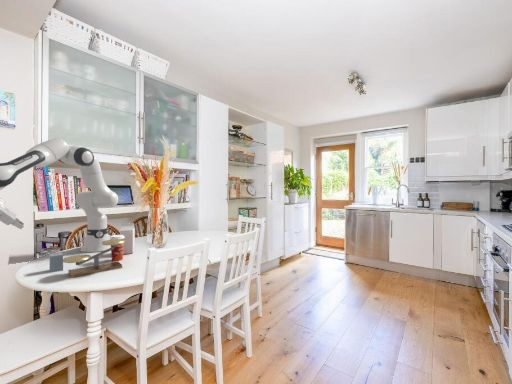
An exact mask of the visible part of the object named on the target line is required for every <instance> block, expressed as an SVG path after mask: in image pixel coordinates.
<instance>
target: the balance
mask: <svg viewBox="0 0 512 384" xmlns="http://www.w3.org/2000/svg"><path fill="white" fill-rule="evenodd" d="M125 242H126V240H124V239H112V240H106V241H103V242H102V245H113V247H111V248H109V249H107V250H104V251H99V253H96V254H95V255H90V254H76V255H71V256H67V257H63V263H67V264H73V263H74V264H75V266H77V267H78V266H80V265H82V264H85V263H87V262H90V261H91V260H93V265H89V266H84V267H79V268H73V269H68V275H69V276H70V278H71V279H72V278H76V277H83V276H87V275H93V274H96V273H97V274H98V273H102V272H103V273H104V272H107V271H112V270H116V269H117V270H118V269H122V268H123V264H122V263H121V262H120V261H111V262H106V263H100V262H99V261H100V260H99V258H100V256H102V255H104V254H107V253H108V252H110V251H111V250H113V249H114V248H115V245H119V244H123V243H125Z"/></svg>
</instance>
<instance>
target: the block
mask: <svg viewBox="0 0 512 384" xmlns="http://www.w3.org/2000/svg"><path fill="white" fill-rule="evenodd" d="M48 255H49V272H50V273H56V272H62V271H64V262H63V259H64V253H63V252H56V253H50V254H48Z"/></svg>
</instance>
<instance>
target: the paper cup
mask: <svg viewBox="0 0 512 384" xmlns="http://www.w3.org/2000/svg"><path fill="white" fill-rule="evenodd" d="M124 238H125V237H124V235H120V234H114V235H110V240H112V239H124ZM111 247H113V245H111ZM123 249H124V243H123V244H119V245H115V248H114V249H113V250H111V252H110V253H111V254H110V255H111V262H117V261H118V262H120V261H123V259H124V254H123Z"/></svg>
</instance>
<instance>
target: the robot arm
mask: <svg viewBox="0 0 512 384" xmlns="http://www.w3.org/2000/svg"><path fill="white" fill-rule="evenodd" d="M58 161H59V162H60V163H62V164H68V165H70V166H79V170H80V173H81V179H82V182H83V185H84V186H85V187H87V188H89V190H87V191H85V190H84V191H81V192H78V193H77V195H76V196H75V203H76V205H77V206H78V207H80V208H81V209H82V210H83V211H84V214H85V215H86V218H87V219H86V220H87V221H86V222H87V228H86V236H85V237H84V239H82V240H81V244H82V245H81V247H80V252H81V253H97V252H103V251H105V250H107V249H109V248H111V245H102V242H103V241H106V240H110V238H111V235H110V234H109V228H108V216H107V215H106V214H104V212H101V209H107V208H109V209H110V208H113V207H116V206H117V205H118V203H119V196H118V194H117V193H116V192H115V191H113V190H111V188H109V187H108V185H107V184H106V182H105V179H104V176H103V172H102V168H101V164H100V161H99V159H98V157H97V156H96V155H94V153H93V152H92V151H91V149H88V148H86V147H83V146H82V147H81V146H78V145H68V143H67V142H66V141H65V140H64V139H61V138H57V137H56V138H52V139H49V140H46V141H43V142H40V143H38V144H36V145H34V146H32V147H31V148H29V149H28V150H26V151H25V153H24V154H22V155H21V156H18V157H16V158H14V159H12V160H9V161H7V162H0V191H2V190H3V189H5V188H6V187H7V186H9V185H11V184H12V183H13V182H14V181H15V180H16V179H17V177H18V175H20V174H22V173H24V172H25V171H28V170H29V169H32V168H34V167H37V168H44V167H48V166H51V165H52V164H54V163H56V162H58ZM5 203H6V201H5V200H4V199H2V198H1V197H0V222H2V223H3V224H4V225H7V226H10V225H11V226H14V227H16V228H17V229H19V230H22V229H23V228H24V227H25V226H24V222H23V221H21V220H20V219H19V218H18V217H17V214H16V213H15V212H14V211H13V210H11V209H10V208H9V207H8V206H7V205H5ZM100 208H101V209H100Z"/></svg>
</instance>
